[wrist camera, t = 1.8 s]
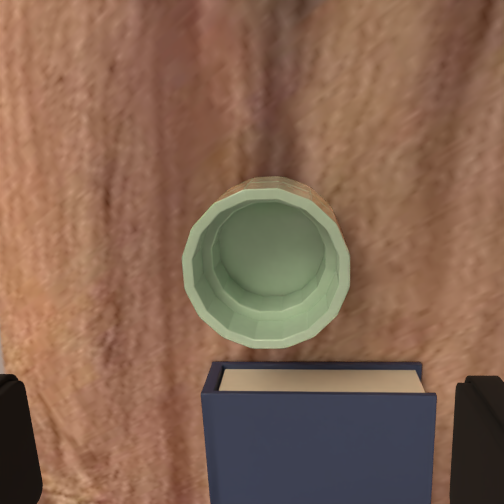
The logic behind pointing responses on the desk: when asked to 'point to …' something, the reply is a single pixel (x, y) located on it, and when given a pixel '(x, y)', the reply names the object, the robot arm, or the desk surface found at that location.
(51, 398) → the desk surface
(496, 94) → the desk surface
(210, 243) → the bowl
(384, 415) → the book
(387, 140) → the desk surface
